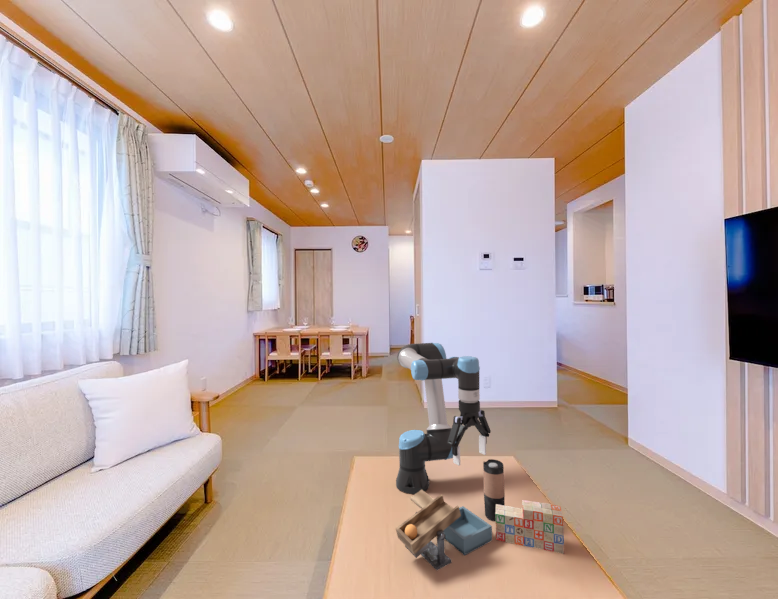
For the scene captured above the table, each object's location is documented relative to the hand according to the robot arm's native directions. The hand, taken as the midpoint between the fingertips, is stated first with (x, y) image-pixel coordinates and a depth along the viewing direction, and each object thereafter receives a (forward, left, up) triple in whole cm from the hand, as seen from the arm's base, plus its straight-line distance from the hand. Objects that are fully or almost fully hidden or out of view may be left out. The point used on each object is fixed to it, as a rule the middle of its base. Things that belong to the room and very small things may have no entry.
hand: (470, 458), depth 124 cm
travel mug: (-1, +13, -26) cm, 29 cm away
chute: (-4, -19, -20) cm, 28 cm away
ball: (+1, -27, -16) cm, 32 cm away
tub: (+1, -5, -26) cm, 26 cm away
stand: (+1, -20, -26) cm, 32 cm away
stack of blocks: (+15, +12, -26) cm, 32 cm away
